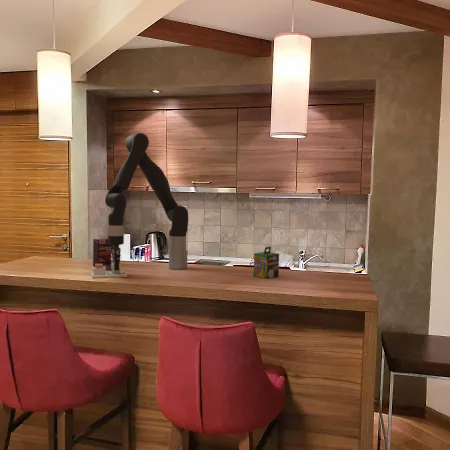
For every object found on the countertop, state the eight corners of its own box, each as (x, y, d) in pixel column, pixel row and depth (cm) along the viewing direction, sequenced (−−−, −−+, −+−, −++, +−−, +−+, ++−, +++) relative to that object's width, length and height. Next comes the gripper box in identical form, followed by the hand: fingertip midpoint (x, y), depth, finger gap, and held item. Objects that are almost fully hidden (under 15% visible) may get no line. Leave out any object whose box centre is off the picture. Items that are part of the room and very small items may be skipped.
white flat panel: (123, 272, 242) (123, 270, 242) (127, 276, 231) (127, 274, 231) (90, 273, 237) (90, 271, 237) (92, 278, 226) (92, 276, 226)
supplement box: (98, 270, 247) (98, 239, 245) (92, 269, 249) (92, 238, 248) (112, 268, 253) (112, 238, 252) (106, 267, 256) (105, 237, 255)
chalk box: (265, 274, 244) (265, 244, 242) (279, 276, 237) (280, 246, 236) (252, 276, 237) (253, 246, 236) (267, 279, 231) (267, 248, 229)
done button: (102, 268, 234) (102, 263, 234) (102, 269, 231) (102, 264, 231) (95, 268, 233) (95, 263, 233) (95, 269, 230) (95, 265, 230)
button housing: (104, 272, 236) (104, 266, 236) (105, 274, 231) (105, 268, 230) (92, 273, 234) (92, 266, 234) (93, 275, 229) (93, 268, 228)
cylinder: (119, 271, 238) (119, 259, 237) (120, 273, 234) (120, 260, 233) (111, 272, 236) (111, 260, 236) (112, 273, 232) (112, 261, 232)
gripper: (125, 235, 228) (126, 271, 229) (121, 232, 241) (121, 266, 243) (109, 236, 226) (109, 272, 227) (106, 233, 239) (106, 267, 240)
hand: (116, 269), depth 235 cm, fingers open, 4 cm apart
